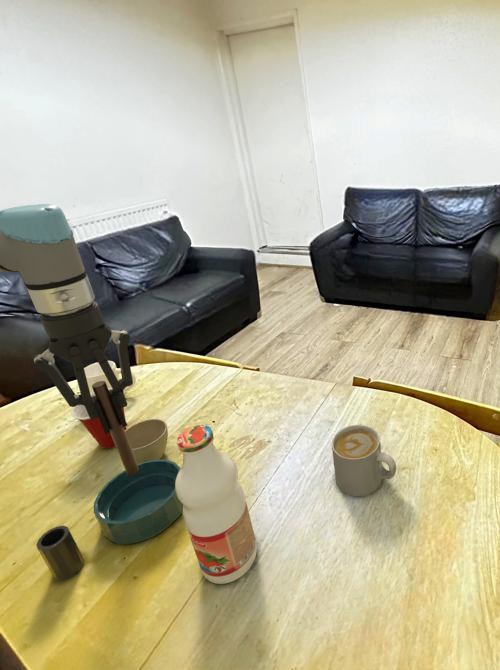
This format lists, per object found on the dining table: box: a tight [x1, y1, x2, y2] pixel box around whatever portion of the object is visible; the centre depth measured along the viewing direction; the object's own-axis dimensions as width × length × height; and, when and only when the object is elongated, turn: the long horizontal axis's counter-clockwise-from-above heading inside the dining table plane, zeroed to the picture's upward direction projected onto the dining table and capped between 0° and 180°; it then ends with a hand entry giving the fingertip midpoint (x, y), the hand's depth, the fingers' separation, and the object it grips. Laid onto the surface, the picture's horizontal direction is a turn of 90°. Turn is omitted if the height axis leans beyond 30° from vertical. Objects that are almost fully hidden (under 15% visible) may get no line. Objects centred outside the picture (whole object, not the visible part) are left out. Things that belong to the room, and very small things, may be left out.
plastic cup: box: [70, 388, 127, 449], centre depth 99 cm, size 11×11×12 cm
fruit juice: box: [175, 424, 258, 585], centre depth 67 cm, size 9×9×28 cm
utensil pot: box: [35, 525, 85, 582], centre depth 71 cm, size 4×4×8 cm
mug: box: [84, 360, 136, 397], centre depth 116 cm, size 12×8×10 cm
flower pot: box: [125, 418, 169, 464], centre depth 95 cm, size 10×10×7 cm
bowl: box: [93, 458, 183, 545], centre depth 81 cm, size 15×15×6 cm
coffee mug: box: [331, 424, 397, 497], centre depth 85 cm, size 13×10×10 cm
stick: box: [92, 381, 139, 476], centre depth 74 cm, size 2×2×20 cm
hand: (115, 425), depth 74 cm, fingers closed on stick, 2 cm apart
